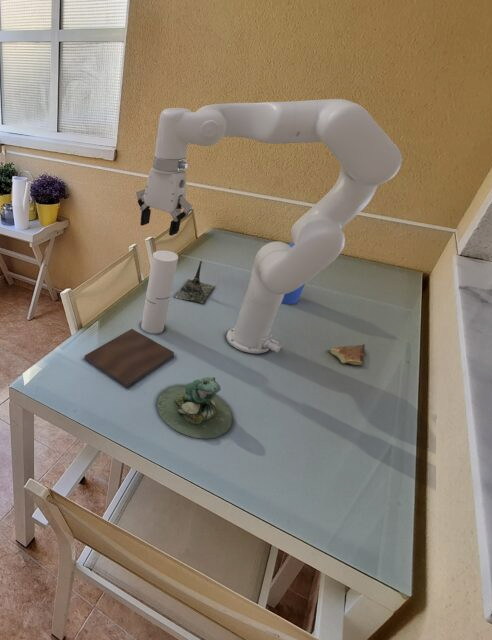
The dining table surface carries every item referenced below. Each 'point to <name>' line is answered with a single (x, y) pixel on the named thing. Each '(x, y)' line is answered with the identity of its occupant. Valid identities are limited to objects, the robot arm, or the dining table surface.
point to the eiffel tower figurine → (195, 289)
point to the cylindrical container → (159, 291)
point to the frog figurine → (195, 409)
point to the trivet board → (129, 357)
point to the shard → (349, 354)
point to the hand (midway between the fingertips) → (158, 229)
